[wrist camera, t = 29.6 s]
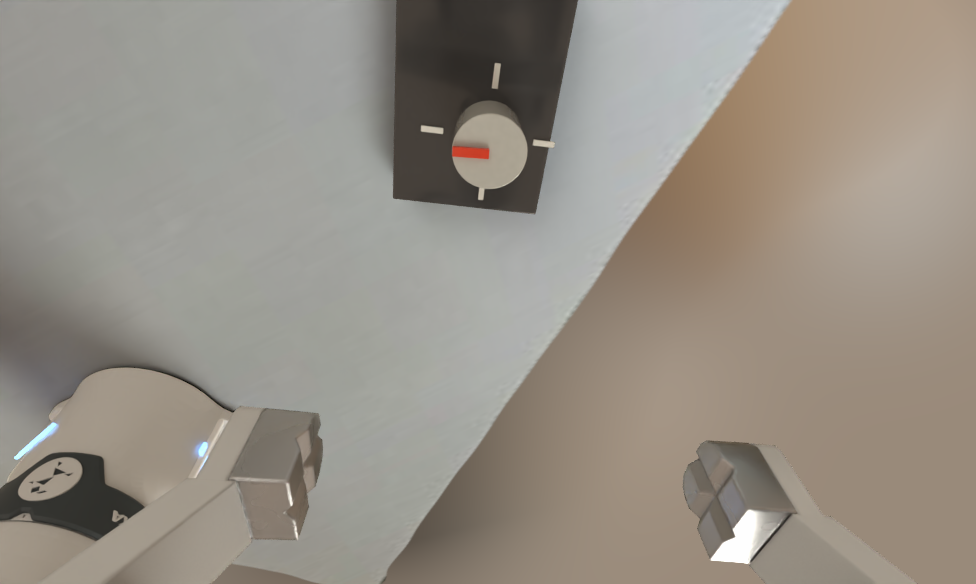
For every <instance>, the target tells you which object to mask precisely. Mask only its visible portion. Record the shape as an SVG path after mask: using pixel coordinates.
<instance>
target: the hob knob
mask: <svg viewBox="0 0 976 584" xmlns="http://www.w3.org/2000/svg"><path fill="white" fill-rule="evenodd" d="M527 153H528V148H527V142H526V138H525V135H524V132H523V129H522V125H521V123H520V120H519V118H518V117H517V115H516V114H515V112H514V111H513V110H512V109H510V108H509V107H508V106H506V105H505V104H503V103H500V102H497V101H481V102H477V103H475V104H473V105H471V106H469V107H468V108H467V109H466V110H465V111H464V112H463V113H462V114H461V115H460V117H459V119H458V120H457V123H456V126H455V130H454V137H453V144H452V158H453V162H454V165H455V168H456V170H457V171H458V173H459V174H460V175H461V177H462V178H463V179H465V180H466V181H467V182H468V183H470V184H472V185H474V186H476V187H479V188H484V189H495V188H499V187H503V186H505V185H507V184H509V183H510V182H512V181H513V180H514V179H516V178H517V177H518V175H519V174H520V173H521V171H522V170H523V168H524V166H525V163H526V160H527Z"/></svg>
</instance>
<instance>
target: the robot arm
mask: <svg viewBox="0 0 976 584" xmlns="http://www.w3.org/2000/svg"><path fill="white" fill-rule="evenodd" d="M49 419H50V421H51V423H50V424H49V425H48V427H47V428H46V429H45V430H44V431H43V432H42V433H41V434H39V435H38V436H37V437H36V438H35V439H34V440H33V441H32V442H30V443H29V444H28V445H27V446H26V447H25V448H24V449H22V450H21V451H20V452H19V453H18V454H17V455H16V456H15V457H14V458H15V459H17V460H18V459H19V458H20V457H21V456H22V455H23V454H24V453H26V452H27V451H28V450H29V451H28V452H27V453H26V454H25V456H24V457H23V458H22V460H21V461H20V462H19V463H18V465H17V466H16V467H15V469H14V470H13V471H12V472H11V474H10V475H9V477H8V480H7V483H6V484H5V485H4V486H3V487H2V488H1V489H0V584H211V583H212V582H213V581H214V580H215V579H216V578H217V577H218V576H219V575H220V574H221V573H222V572H223V571H224V570H225V569H226V568H227V567H228V566H229V565H230V564H231V563H232V562H233V561H234V560H235V559H236V558H237V557H238V556H239V555H240V554H241V553H242V552H243V551H244V550H245V548H246V547H247V546H248V545H249V544H250V543H251V542H252V540H251V539H276V540H298V538H299V535H300V532H301V529H302V526H303V523H304V520H305V517H306V514H307V511H308V508H309V505H308V497H307V493H308V492H309V491H311V490H312V489H313V488H314V487H315V486H316V483H317V479H318V476H319V473H320V467H321V462H322V453H323V444H322V439H321V438H320V437H319V436H318V435H317V434H318V431H319V428H320V425H321V424H320V417H319V414H318V413H310V412H300V411H289V410H279V409H269V408H256V407H244V406H240V407H239V408H238V409H237V410H236V411H234V412H233V413H232V412H230V411H228V410H226V409H223V408H222V407H220V406H219V405H218V404H216V403H215V402H214V401H213V400H212V399H210V398H209V397H208V396H207V395H205V394H204V393H203V392H201V391H200V390H198V389H197V388H195V387H194V386H192V385H190V384H188V383H186V382H184V381H182V380H180V379H177V378H175V377H172V376H170V375H167V374H163V373H160V372H156V371H152V370H147V369H140V368H111V369H106V370H102V371H99V372H96V373H94V374H92V375H90V376H88V377H87V378H85V379H84V380H83V381H82V382H81V383H80V385H79V386H78V388H77V389H76V391H75V393H74V394H73V396H72V397H71V398H70V399H67V400H65V401H63V402H61V403H59V404H58V405H56V406H55V408H54V409H53V410H52V411H51V413H50V414H49ZM696 452H697V454H698V456H699V459H697V460H695V461H694V462H692V463H690V464H689V465H688V467H687V469H686V471H685V473H684V477H683V490H684V495H685V499H686V501H687V504H688V507H689V509H690V510H692V512H694V513H695V514H696V515H697V516H698V517H699V518H700V521H699V524H698V528H697V529H698V531H699V534H700V537H701V539H702V541H703V544H704V546H705V548H706V551H707V553H708V556H709V558H710V560H714V561H727V562H740V563H750V565H749V566H750V567H751V568H752V569H753V571H754V572H755V573H756V574H757V575H758V576H759V577H760V578H761V579H762V580H763V582H764V583H765V584H918V583H917V582H915V581H914V580H913V579H912V578H910V577H909V576H908V575H906V574H905V573H904V572H902V571H901V570H900V569H899V568H897V567H896V566H895V565H893V564H892V563H891V562H890V561H888V560H887V559H886V558H884V557H883V556H882V555H880V554H879V553H878V552H877V551H875V550H874V549H873V548H871V547H870V546H868V545H867V544H866V543H865V542H864V541H862V540H861V539H860V538H858V537H857V536H856V535H854V534H853V533H852V532H851V531H849V530H848V529H847V528H845V527H844V526H843V525H841V524H840V523H839V522H838V521H836V520H835V519H833V518H832V517H831V516H824V515H823V514H822V512H821V511H820V509H819V508H818V506H817V505H816V503H815V501H814V500H813V498H812V497H811V495H810V494H809V492H808V491H807V489H806V488H805V486H804V485H803V483H802V482H801V480H800V479H799V477H798V476H797V474H796V473H795V471H794V469H793V468H792V466H791V465H790V463H789V462H788V460H787V459H786V457H785V456H784V454H783V453H782V451H781V450H780V449H779V448H777V447H776V446H775V445H764V444H749V443H739V442H722V441H705V442H703V443H701V444H700V446H699V448H698V449H697V451H696Z"/></svg>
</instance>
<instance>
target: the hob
mask: <svg viewBox="0 0 976 584" xmlns="http://www.w3.org/2000/svg"><path fill="white" fill-rule="evenodd" d="M577 2H578V0H397V8H396V62H395V117H394V171H393V198H394V199H403V200H412V201H421V202H430V203H439V204H448V205H457V206H466V207H475V208H484V209H493V210H502V211H511V212H520V213H528V214H535V213H536V209H537V204H538V199H539V194H540V188H541V183H542V178H543V173H544V168H545V163H546V158H547V153H548V148H549V147H550V148H554V145H555V142H552V141H550V138H551V133H552V128H553V123H554V118H555V113H556V108H557V103H558V98H559V93H560V88H561V83H562V78H563V73H564V68H565V63H566V58H567V53H568V48H569V43H570V38H571V33H572V28H573V23H574V17H575V12H576V7H577ZM481 101H497V102H500V103H503V104H505V105H506V106H508V107H509V108H510V109H512V110H513V111H514V112H515V114H516V115H517V117H518V118H519V120H520V123H521V125H522V129H523V132H524V135H525V138H526V142H527V148H528V153H527V160H526V163H525V166H524V168H523V170H522V171H521V173H520V174H519V175H518V177H517V178H516V179H514V180H513V181H512V182H510V183H509V184H507V185H505V186H503V187H499V188H495V189H484V188H479V187H476V186H474V185H472V184H470V183H468V182H467V181H466V180H465V179H463V178H462V177H461V175H460V174H459V173H458V171H457V170H456V168H455V165H454V162H453V158H452V144H453V137H454V130H455V126H456V123H457V120H458V119H459V117H460V115H461V114H462V113H463V112H464V111H465V110H466V109H467V108H468V107H469V106H471V105H473V104H475V103H477V102H481Z"/></svg>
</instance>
